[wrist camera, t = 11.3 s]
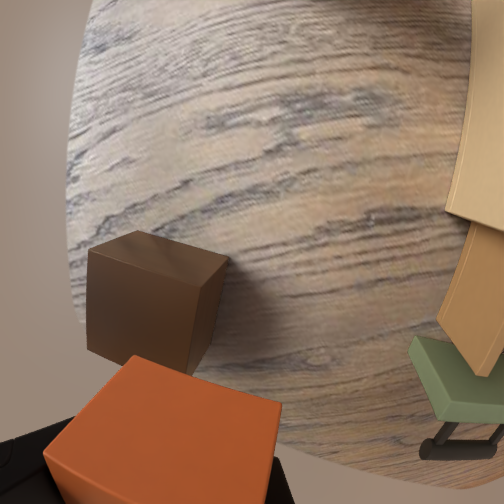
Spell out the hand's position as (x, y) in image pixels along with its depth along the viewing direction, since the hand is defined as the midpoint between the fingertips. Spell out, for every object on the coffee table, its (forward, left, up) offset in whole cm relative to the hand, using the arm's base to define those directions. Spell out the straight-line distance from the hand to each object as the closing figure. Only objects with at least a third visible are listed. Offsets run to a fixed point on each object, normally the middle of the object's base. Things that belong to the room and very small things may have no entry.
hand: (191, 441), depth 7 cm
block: (0, 0, -1) cm, 0 cm away
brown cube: (-3, +4, -11) cm, 12 cm away
